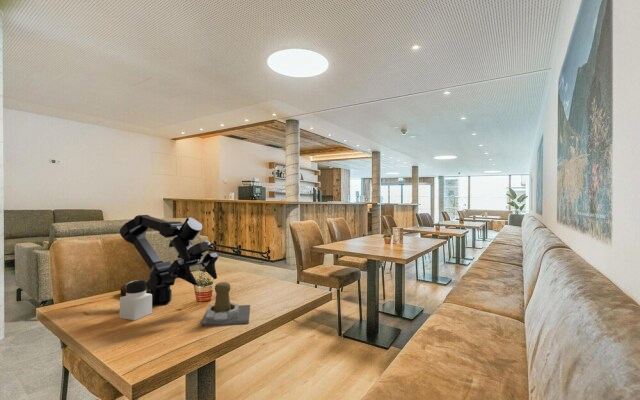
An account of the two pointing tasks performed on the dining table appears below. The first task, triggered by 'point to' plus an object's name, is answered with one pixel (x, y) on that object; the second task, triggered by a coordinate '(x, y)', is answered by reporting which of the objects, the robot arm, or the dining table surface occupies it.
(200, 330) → the dining table surface
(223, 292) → the cork
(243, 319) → the socket block
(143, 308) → the medicine bottle
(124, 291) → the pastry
